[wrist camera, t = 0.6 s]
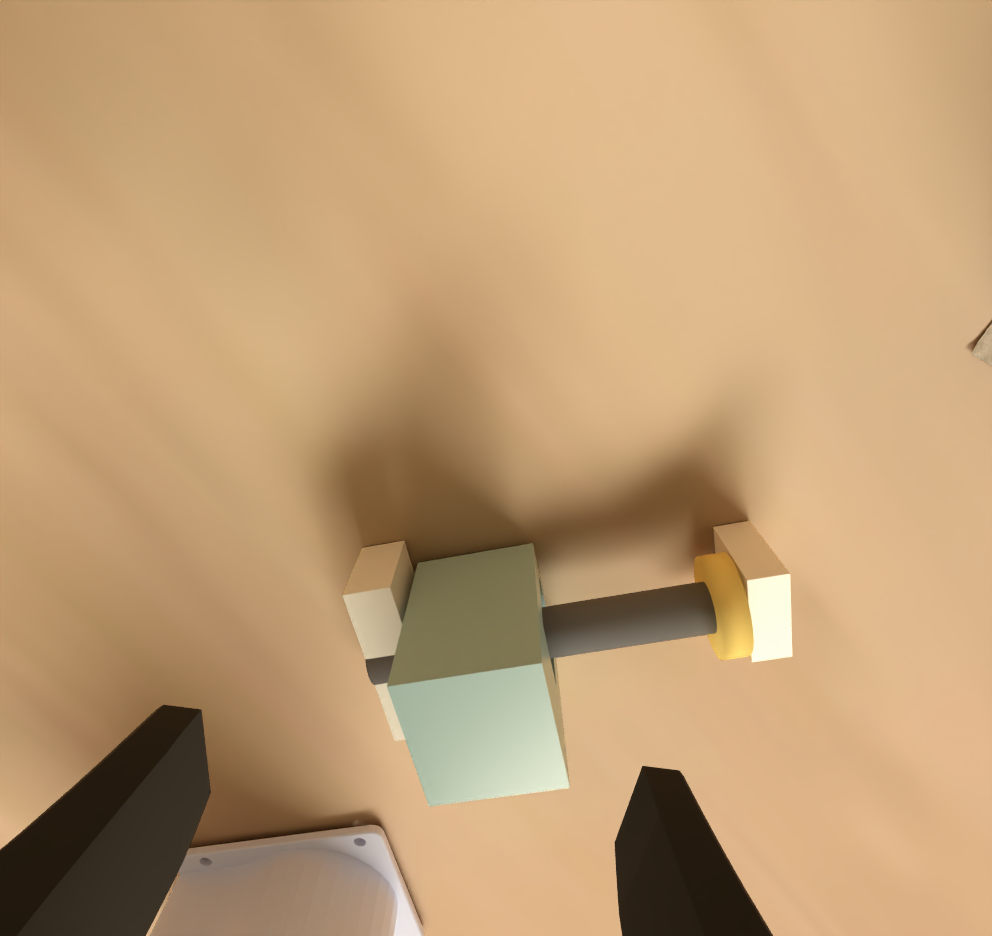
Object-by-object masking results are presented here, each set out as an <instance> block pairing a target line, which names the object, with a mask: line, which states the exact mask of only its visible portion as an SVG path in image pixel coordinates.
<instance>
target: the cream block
mask: <svg viewBox="0 0 992 936" xmlns="http://www.w3.org/2000/svg"><path fill="white" fill-rule="evenodd" d="M713 531H714V543H715V553H721V552H725V553H727V554H728V555H729V556H730V558H731V559H732V561H733V563H734V564H735V566H736V568H737V571H738V573H739V575H740V578H741V581H742V584H743V587H744V590H745V593H746V597H747V600H748V604H749V609H750V613H751V619H752V625H753V635H754V647H753V652H752V654H751V656H749V658H750V660H751V661H752V662H757V661H764V660H771V659H778V658H784V657H791V656H792V629H791V591H790V573H789V572H788V570H787V569H786V568H785V566H784V565H783V564H782V562H781V561H780V560H779V559H778V557H777V556H776V555H775V553H774V552H773V551H772V549H771V548H770V547H769V545H768V544H767V543H766V541H765V540H764V539H763V538H762V536H761V535H760V534H759V532H758V531H757V530H756V528H755V527H754V526H753V524H752V523H751V522H750V521H745V522H739V523H733V524H727V525H721V526H716V527H713Z"/></svg>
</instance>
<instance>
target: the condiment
mask: <svg viewBox="0 0 992 936" xmlns="http://www.w3.org/2000/svg"><path fill="white" fill-rule="evenodd" d="M971 354H972V355H974V356H975V357H977V358H979V359H980V360H982V361H984V362H986V363H988V364H989V365H991V366H992V324H991V325H990V326H989V327H988V329H987V330H986V332H985V333H984V335H983V336H982V337H981V338H980V340H979V341H978V343H977V344H976V346H975V348H974V350H973V352H972V353H971Z"/></svg>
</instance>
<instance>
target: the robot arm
mask: <svg viewBox="0 0 992 936" xmlns="http://www.w3.org/2000/svg"><path fill="white" fill-rule="evenodd" d="M210 793H211V791H210V782H209V773H208V764H207V755H206V747H205V738H204V729H203V720H202V711H201V710H200V709H192V708H184V707H176V706H168V705H163V706H161V707H160V708H158V709H157V710H156V711H155V712H153V713H152V714H151V715H150V716H149V717H148V718H147V719H146V720H145V721H144V722H143V723H142V724H141V725H140V726H138V727H137V728H136V729H135V730H134V731H133V732H132V733H131V734H130V735H129V736H128V737H127V738H126V739H125V740H124V741H122V742H121V743H120V744H119V745H118V746H117V747H116V748H115V749H114V750H113V751H112V752H111V753H109V754H108V755H107V756H106V757H105V758H104V759H103V760H102V761H101V762H100V763H99V764H98V765H96V766H95V767H94V768H93V769H92V770H91V771H90V772H89V773H88V774H87V775H85V776H84V777H83V778H82V779H81V780H80V781H79V782H78V783H77V784H76V785H74V786H73V787H72V788H71V789H70V790H69V791H68V792H66V793H65V794H64V795H63V796H62V797H61V798H60V799H58V800H57V801H56V802H55V803H54V804H53V805H52V806H50V807H49V808H48V809H47V810H46V811H45V812H44V813H43V814H41V815H40V816H39V817H38V818H37V819H36V820H35V821H33V822H32V823H31V824H30V825H29V826H28V827H27V828H25V829H24V830H23V831H22V832H21V833H20V834H18V835H17V836H16V837H15V838H14V839H13V840H11V841H10V842H9V843H8V844H7V845H5V846H4V847H3V848H2V849H1V850H0V936H146V934H147V932H148V930H149V928H150V926H151V924H152V922H153V921H154V919H155V917H156V915H157V913H158V911H159V909H160V907H161V905H162V903H163V901H164V899H165V897H166V895H167V893H168V891H169V889H170V887H171V885H172V883H173V881H174V879H175V877H176V875H177V873H178V872H179V873H180V875H179V877H178V879H177V881H176V883H175V885H174V887H173V889H172V891H171V893H170V895H169V898H168V900H167V902H166V904H165V906H164V908H163V910H162V912H161V914H160V916H159V918H158V920H157V922H156V924H155V926H154V928H153V930H152V932H151V934H150V936H425V932H424V929H423V927H422V924H421V922H420V920H419V917H418V915H417V912H416V910H415V907H414V905H413V902H412V900H411V897H410V895H409V892H408V890H407V887H406V885H405V882H404V880H403V877H402V875H401V872H400V870H399V867H398V865H397V862H396V860H395V857H394V855H393V852H392V850H391V847H390V845H389V843H388V840H387V838H386V835H385V833H384V831H383V829H382V828H381V827H379V826H377V825H365V826H357V827H349V828H341V829H334V830H326V831H318V832H311V833H303V834H295V835H288V836H280V837H272V838H265V839H257V840H249V841H241V842H234V843H226V844H218V845H211V846H203V847H195V848H189V847H190V844H191V842H192V839H193V837H194V834H195V832H196V829H197V827H198V824H199V822H200V819H201V816H202V814H203V811H204V809H205V806H206V803H207V801H208V798H209V796H210ZM615 857H616V875H617V890H618V904H619V916H620V923H621V929H622V936H773V935H772V933H771V931H770V930H769V928H768V926H767V925H766V923H765V921H764V920H763V918H762V916H761V915H760V913H759V911H758V910H757V908H756V906H755V905H754V903H753V901H752V900H751V898H750V896H749V894H748V893H747V891H746V889H745V888H744V886H743V884H742V883H741V881H740V879H739V877H738V876H737V874H736V872H735V870H734V869H733V867H732V865H731V863H730V861H729V860H728V858H727V856H726V854H725V852H724V851H723V849H722V847H721V845H720V843H719V842H718V840H717V838H716V836H715V834H714V833H713V831H712V829H711V827H710V825H709V823H708V821H707V820H706V818H705V816H704V814H703V812H702V810H701V808H700V806H699V805H698V803H697V801H696V799H695V797H694V795H693V793H692V791H691V789H690V787H689V785H688V784H687V782H686V780H685V778H684V776H683V775H682V773H681V772H680V771H678V770H671V769H663V768H655V767H647V766H642V769H641V772H640V774H639V777H638V780H637V783H636V785H635V788H634V791H633V794H632V796H631V799H630V802H629V805H628V807H627V810H626V813H625V816H624V818H623V821H622V824H621V827H620V829H619V832H618V835H617V838H616V840H615Z"/></svg>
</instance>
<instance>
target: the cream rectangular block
mask: <svg viewBox="0 0 992 936" xmlns="http://www.w3.org/2000/svg"><path fill="white" fill-rule="evenodd" d="M414 576H415V574H414V570H413V567H412V564H411V561H410V557H409V554H408V551H407V547H406V544H405V541H399V542H393V543H387V544H382V545H376V546H370V547H364V548H362V550H361V552H360V555H359V557H358V559H357V562H356V564H355V566H354V569H353V571H352V573H351V576H350V578H349V581H348V583H347V585H346V588H345V590H344V592H343V595H342V596H343V599H344V602H345V604H346V607H347V610H348V613H349V615H350V618H351V621H352V624H353V626H354V629H355V632H356V635H357V637H358V640H359V643H360V646H361V649H362V651H363V654H364V657H365V660H366V659H372V658H378V657H385V656H391V655H395V652H396V648H397V644H398V640H399V636H400V632H401V628H402V624H403V620H404V616H405V612H406V608H407V604H408V600H409V596H410V592H411V588H412V584H413V580H414ZM387 684H388V683H385V684H378V685H375V687H376V690H377V693H378V695H379V698H380V701H381V704H382V706H383V709H384V712H385V715H386V717H387V720H388V723H389V726H390V729H391V731H392V734H393V737H394V740H395V741H399V740H405V737H404V734H403V731H402V728H401V726H400V723H399V720H398V717H397V714H396V711H395V709H394V706H393V703H392V700H391V697H390V694H389V692H388V689H387Z"/></svg>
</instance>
